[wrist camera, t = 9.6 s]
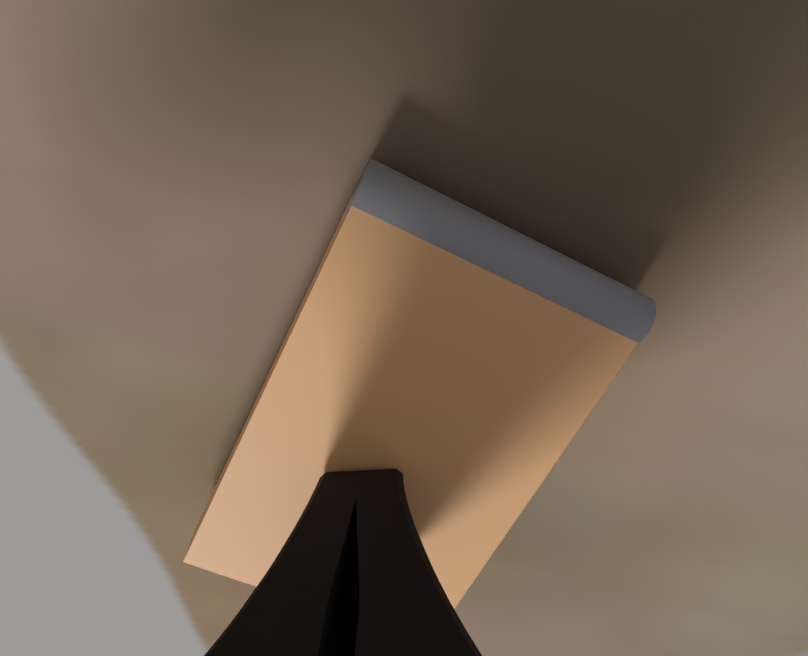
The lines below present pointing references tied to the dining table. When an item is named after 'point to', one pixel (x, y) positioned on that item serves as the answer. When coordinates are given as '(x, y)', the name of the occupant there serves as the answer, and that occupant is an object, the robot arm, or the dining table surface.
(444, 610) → the robot arm
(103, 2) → the dining table surface
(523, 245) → the latch flap
